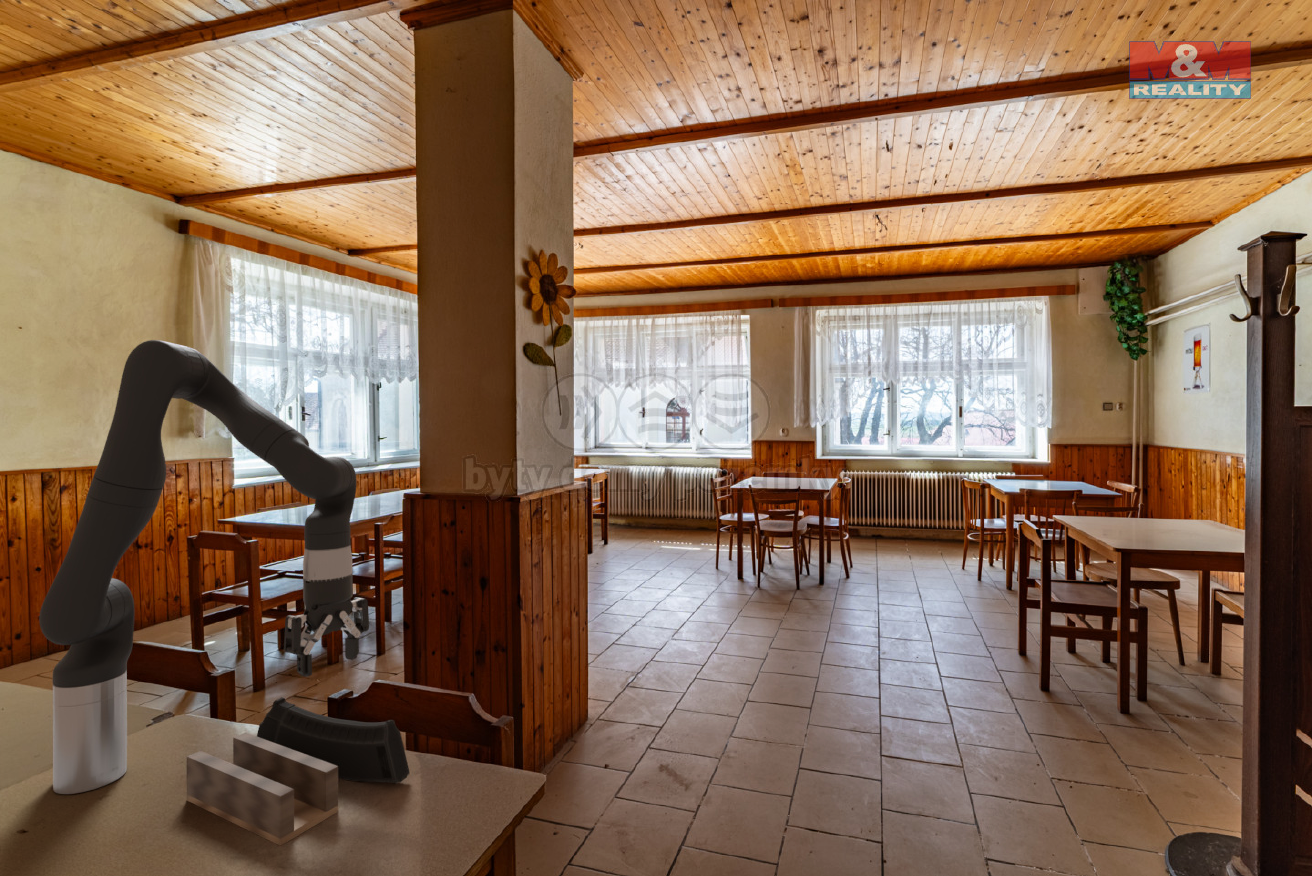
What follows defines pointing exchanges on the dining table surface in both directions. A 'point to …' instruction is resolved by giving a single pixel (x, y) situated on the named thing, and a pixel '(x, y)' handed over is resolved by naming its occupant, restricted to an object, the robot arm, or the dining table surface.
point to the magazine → (339, 742)
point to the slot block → (264, 788)
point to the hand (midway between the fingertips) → (329, 666)
